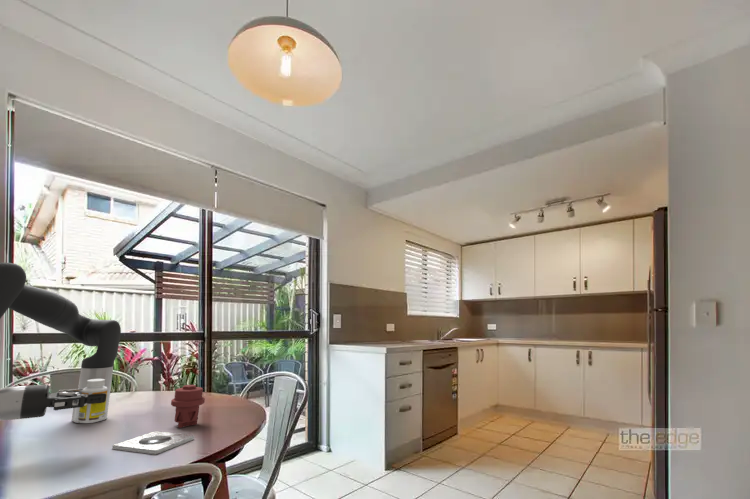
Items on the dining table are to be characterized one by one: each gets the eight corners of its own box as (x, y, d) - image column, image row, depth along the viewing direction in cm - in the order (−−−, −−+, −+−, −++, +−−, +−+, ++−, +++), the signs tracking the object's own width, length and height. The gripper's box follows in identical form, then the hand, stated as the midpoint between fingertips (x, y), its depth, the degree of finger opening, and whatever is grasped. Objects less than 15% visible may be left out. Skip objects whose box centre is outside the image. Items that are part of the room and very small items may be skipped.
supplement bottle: (107, 417, 106) (112, 378, 108) (97, 423, 101) (102, 381, 103) (84, 418, 105) (89, 378, 107) (73, 424, 100) (78, 381, 102)
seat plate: (112, 449, 105) (112, 444, 106) (154, 434, 119) (154, 431, 119) (155, 454, 102) (156, 450, 102) (193, 439, 115) (194, 435, 115)
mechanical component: (208, 422, 134) (189, 430, 124) (182, 420, 136) (161, 428, 126) (212, 384, 136) (193, 388, 126) (186, 382, 138) (165, 387, 128)
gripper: (19, 391, 91) (108, 385, 100) (28, 381, 103) (107, 376, 112) (14, 426, 90) (104, 416, 99) (23, 412, 101) (103, 404, 111)
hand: (105, 395), depth 106 cm, fingers closed on supplement bottle, 5 cm apart
